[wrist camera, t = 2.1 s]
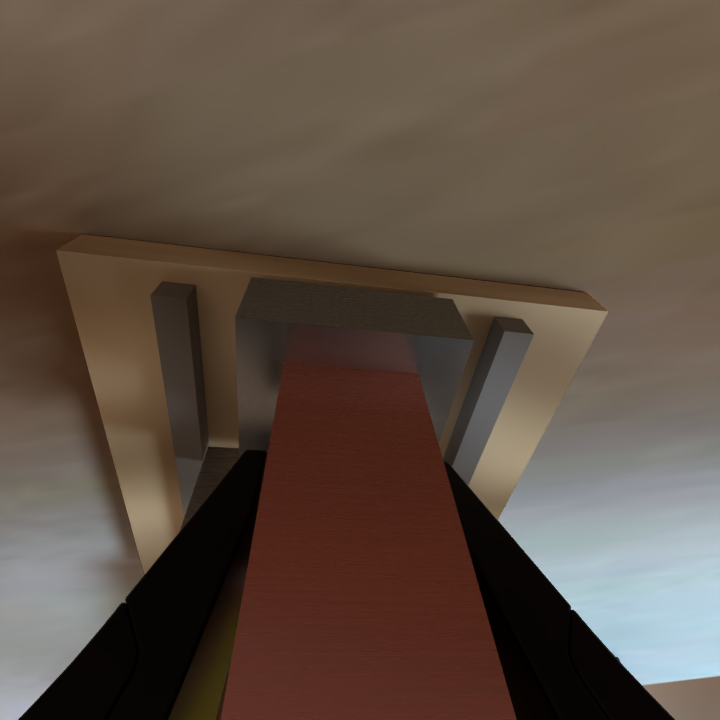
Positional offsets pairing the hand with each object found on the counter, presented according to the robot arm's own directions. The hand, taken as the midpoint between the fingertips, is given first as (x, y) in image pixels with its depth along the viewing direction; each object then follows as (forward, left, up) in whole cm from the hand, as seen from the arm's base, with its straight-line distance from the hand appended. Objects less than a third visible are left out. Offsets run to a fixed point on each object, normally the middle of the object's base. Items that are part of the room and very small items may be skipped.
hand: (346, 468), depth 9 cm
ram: (-1, 0, -4) cm, 4 cm away
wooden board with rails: (-5, 0, -5) cm, 7 cm away
